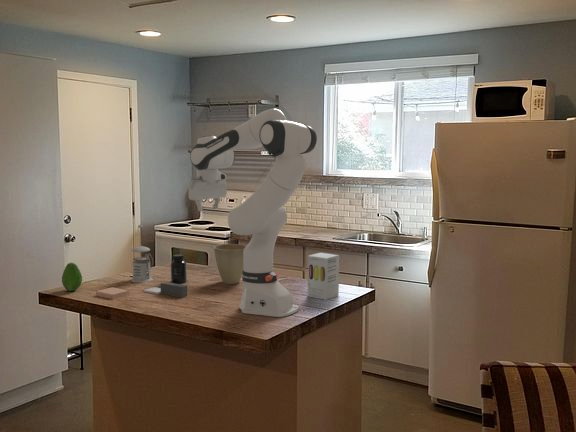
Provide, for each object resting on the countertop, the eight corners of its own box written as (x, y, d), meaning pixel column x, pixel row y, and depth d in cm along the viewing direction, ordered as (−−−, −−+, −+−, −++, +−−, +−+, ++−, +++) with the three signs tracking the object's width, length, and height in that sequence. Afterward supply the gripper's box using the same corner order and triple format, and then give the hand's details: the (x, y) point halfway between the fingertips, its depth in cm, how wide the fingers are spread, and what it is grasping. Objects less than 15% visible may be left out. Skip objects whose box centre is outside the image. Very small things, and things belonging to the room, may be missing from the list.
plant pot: (208, 284, 258) (208, 248, 256) (222, 277, 272) (222, 243, 270) (240, 287, 253) (240, 250, 251) (253, 279, 267) (252, 245, 265)
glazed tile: (128, 290, 240) (111, 287, 245) (112, 294, 233) (96, 291, 239) (128, 296, 240) (112, 292, 246) (112, 300, 234) (96, 296, 239)
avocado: (66, 294, 241) (65, 265, 240) (59, 290, 247) (58, 262, 246) (85, 290, 247) (84, 262, 245) (78, 287, 253) (77, 259, 251)
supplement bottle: (189, 281, 264) (189, 254, 263) (179, 284, 258) (178, 257, 257) (178, 279, 268) (177, 253, 266) (167, 282, 262) (167, 255, 261)
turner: (190, 295, 240) (189, 284, 239) (179, 298, 235) (179, 287, 234) (154, 288, 251) (154, 278, 250) (143, 291, 246) (143, 281, 245)
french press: (143, 276, 274) (141, 222, 271) (160, 279, 267) (159, 224, 264) (126, 280, 266) (124, 225, 263) (143, 283, 259) (141, 227, 256)
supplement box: (306, 296, 238) (307, 255, 236) (319, 292, 245) (320, 251, 243) (326, 300, 232) (327, 258, 230) (339, 295, 239) (339, 254, 237)
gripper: (196, 177, 231) (197, 212, 233) (229, 175, 248) (229, 208, 250) (184, 177, 234) (185, 211, 236) (217, 174, 252) (217, 207, 253)
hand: (208, 209), depth 243 cm, fingers open, 8 cm apart
